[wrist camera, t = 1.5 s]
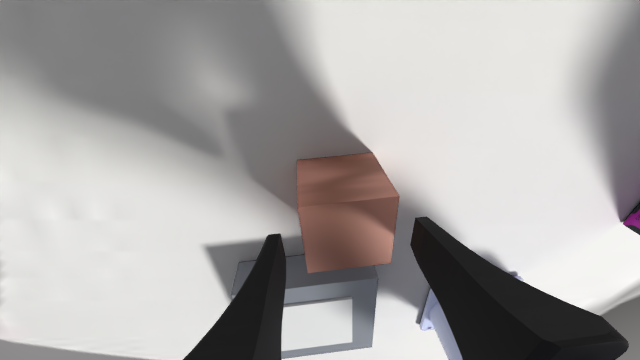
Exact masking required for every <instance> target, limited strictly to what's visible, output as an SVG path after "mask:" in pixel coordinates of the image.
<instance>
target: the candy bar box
mask: <svg viewBox="0 0 640 360" xmlns="http://www.w3.org/2000/svg"><path fill="white" fill-rule="evenodd" d="M623 225H625V226H626V227H628V228H630V229H631V230H633V231H634V232H636V233H637V234H639V235H640V204H639V205H638V206H637V207H636V208H635V210H634V211H633V212H632V213H631V214H630V215H629V217H628V218H627V219H626V220H625V221H624V223H623Z"/></svg>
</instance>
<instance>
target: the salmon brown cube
mask: <svg viewBox="0 0 640 360" xmlns="http://www.w3.org/2000/svg"><path fill="white" fill-rule="evenodd" d="M297 200H298V213H299V220H300V226H301V233H302V239H303V245H304V252H305V258H306V265H307V271H308V273H313V272H322V271H330V270H338V269H347V268H355V267H364V266H372V265H380V264H389V263H391V257H392V250H393V242H394V234H395V226H396V218H397V211H398V203H399V195H398V193H397V191H396V190H395V188H394V187H393V185H392V183H391V182H390V180H389V178H388V177H387V175H386V174H385V172H384V170H383V169H382V167H381V165H380V164H379V162H378V161H377V159H376V157H375V156H374V154H373V152H372V153H362V154H353V155H343V156H333V157H324V158H314V159H304V160H297Z"/></svg>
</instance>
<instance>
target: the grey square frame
mask: <svg viewBox="0 0 640 360" xmlns="http://www.w3.org/2000/svg"><path fill="white" fill-rule="evenodd" d="M255 262H256V261H247V262H239V265H238V269H237V273H236V277H235V281H234V286H233V290H232V294H231V297H232V299H234V297H235V296H236V294H237V293H238V291H239V290H240V288H241V287H242V285H243V283H244V282H245V280H246V278H247V277H248V275H249V273H250V271H251V270H252V268H253V266H254V264H255ZM377 284H378V276H377V273H376V270H375V267H374V265H372V266H364V267H355V268H347V269H338V270H330V271H322V272H313V273H308V271H307V265H306V258H305V255H299V256H290V257H286V287H285V298H284V308H283V318H282V334H281V359H284V358H292V357H300V356H307V355H315V354H323V353H331V352H338V351H346V350H354V349H361V348H369V347H372V340H373V329H374V318H375V307H376V296H377Z"/></svg>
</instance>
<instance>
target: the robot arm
mask: <svg viewBox="0 0 640 360" xmlns="http://www.w3.org/2000/svg"><path fill="white" fill-rule="evenodd" d="M410 245H411V248H412V250H413V253H414V256H415V258H416V261H417V263H418V265H419V267H420V269H421V270H422V272H423V274H424V276H425V278H426V280H427V282H428V283H429V285H430V287H431V289H430V291H429V295H428V298H427V302H426V305H425V309H424V312H423V316H422V319H421V323H420V329H421V330H423V331H425V330H433V329H435V331H436V333H437V335H438V338H439V340H440V342H441V344H442V346H443V348H444V351H445V353H446V355H447V357H448V359H449V360H615V359H617V358H618V357H620V356H621V355H622V354H623V353H624V352H626V351H627V349H628V347H629V346H628V345H629V344H628V341H627V340H626V339H625V338H624V337H623V336H622V335H621V334H620V333H619V332H617V330H615V329H614V328H613V327H612V326H611V325H610V324H609V323H608V322H607V321H606V320H605V319H604V318H603V317H601V316H599V315H596V314H594V313H591V312H589V311H586V310H584V309H581V308H579V307H576V306H574V305H571V304H569V303H567V302H564V301H562V300H560V299H558V298H556V297H553V296H551V295H549V294H547V293H545V292H543V291H541V290H538V289H536V288H534V287H532V286H530V285H529V284H527V283H525V282H523V279H522V278H521V277H520V276H514V277H513V276H512V275H510V274H508V273H506V272H504V271H503V270H501V269H499V268H498V267H496V266H494V265H493V264H491V263H489V262H488V261H486V260H485V259H483V258H482V257H480V256H479V255H477V254H476V253H474V252H473V251H471V250H470V249H469V248H467V247H466V246H464V245H463V244H462V243H460V242H459V241H458V240H456V239H455V238H454V237H452V236H451V235H450V234H448V233H447V232H446V231H445V230H443V229H442V228H441V227H439V226H438V225H437V224H436V223H434V222H433V221H432V220H431V219H429V218H428V217H419V218H415V223H414V228H413V233H412V239H411V244H410ZM285 287H286V257H285V252H284V248H283V243H282V239H281V234H271V235H268V236H267V238H266V240H265V243H264V245H263V247H262V250H261V252H260V254H259V256H258V258H257V260H256V262H255V264H254V266H253V268H252V270H251V271H250V273H249V275H248V277H247V278H246V280H245V282H244V283H243V285H242V287H241V288H240V290H239V291H238V293H237V294H236V296H235V297H234V299H233V300H232V302H231V303H230V305H229V306H228V307H227V309H226V310H225V311H224V313H223V314H222V315H221V317H220V318H219V319H218V321H217V322H216V323H215V324H214V326H213V327H212V328H211V329H210V330H209V331H208V333H207V334H206V335H205V336H204V337H203V338H202V340H201V341H200V342H199V343H198V344H197V345H196V346H195V348H194V349H193V350H192V351H191V352H190V353H189V354H188V355H187V356H186V357H185V358H184V359H183V360H281V334H282V318H283V308H284V298H285Z"/></svg>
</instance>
